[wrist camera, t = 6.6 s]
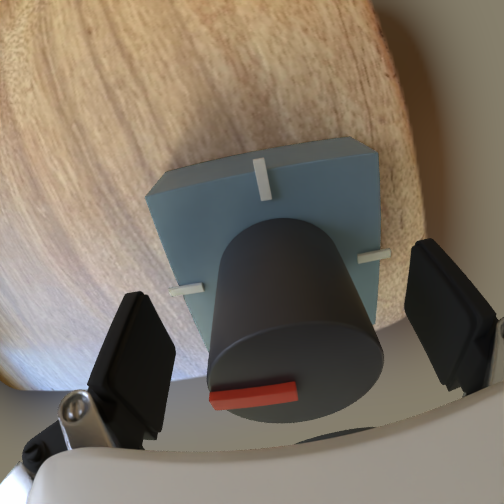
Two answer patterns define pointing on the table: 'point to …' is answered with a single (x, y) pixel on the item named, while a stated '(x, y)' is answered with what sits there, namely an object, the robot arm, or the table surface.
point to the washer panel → (269, 212)
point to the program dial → (288, 327)
